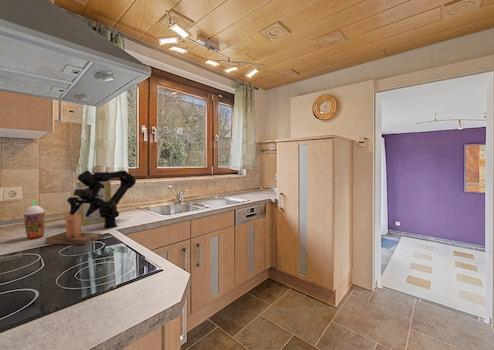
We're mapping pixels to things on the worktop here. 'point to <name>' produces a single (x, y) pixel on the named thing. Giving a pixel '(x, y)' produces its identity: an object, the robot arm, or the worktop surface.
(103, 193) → the pasta box
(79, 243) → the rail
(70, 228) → the clip
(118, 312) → the worktop surface
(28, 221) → the smoothie
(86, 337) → the worktop surface
